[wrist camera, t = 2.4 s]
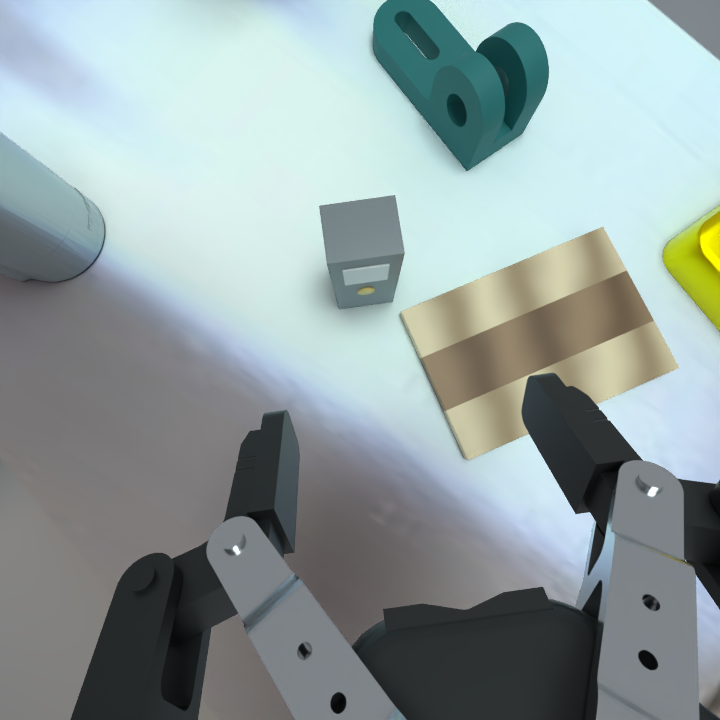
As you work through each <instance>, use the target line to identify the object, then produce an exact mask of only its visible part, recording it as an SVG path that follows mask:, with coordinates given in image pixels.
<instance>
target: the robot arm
mask: <svg viewBox="0 0 720 720" xmlns="http://www.w3.org/2000/svg"><path fill="white" fill-rule="evenodd" d="M103 240H104V223H103V218H102V216H101V214H100V212H99V210H98V208H97V207H96V206H95V205H94V203H93V202H92V201H90V200H89V199H88V198H86V197H85V196H84V195H82V194H81V193H80V192H79V191H78V190H77V189H76V188H73V187H72V186H71V185H69V184H68V183H67V182H66V181H64V180H63V179H62V178H60V177H59V176H58V175H57V174H55V173H54V172H53V171H51V170H50V169H49V168H47V167H46V166H45V165H43V164H42V163H41V162H39V161H38V160H37V159H36V158H34V157H33V156H32V155H30V154H29V153H28V152H26V151H25V150H24V149H22V148H21V147H20V146H18V145H17V144H16V143H14V142H13V141H12V140H10V139H9V138H8V137H7V136H5V135H4V134H3V133H1V132H0V274H2V275H5V276H8V277H10V278H13V279H16V280H18V281H21V282H23V281H25V280H28V279H37V280H41V281H45V282H57V281H63V280H67V279H69V278H72V277H74V276H76V275H78V274H80V273H81V272H83V271H84V270H85V269H86V268H87V267H89V266H90V265H91V264H92V263H93V261H94V260H95V258H96V257H97V256H98V254H99V252H100V249H101V247H102V244H103ZM521 413H522V419H523V423H524V425H525V427H526V429H527V431H528V433H529V434H530V436H531V438H532V439H533V441H534V443H535V445H536V446H537V448H538V450H539V452H540V453H541V455H542V457H543V458H544V460H545V462H546V464H547V465H548V467H549V469H550V470H551V472H552V474H553V476H554V477H555V479H556V481H557V483H558V484H559V486H560V488H561V489H562V491H563V493H564V495H565V496H566V498H567V500H568V502H569V503H570V505H571V507H572V508H573V510H574V512H575V514H579V513H586V512H590V513H591V514H592V516H593V518H594V519H595V521H594V523H593V527H592V533H591V538H590V544H589V550H588V555H587V561H586V567H585V572H584V578H583V583H582V586H581V590H580V592H579V595H578V599H577V602H576V606H575V607H573V606H571V605H568V604H566V603H563V602H560V601H556V600H553V599H548V597H547V595H546V593H545V591H544V588H543V587H538V588H531V589H524V590H517V591H510V592H503V593H501V594H499V595H497V596H495V597H493V598H491V599H489V600H487V601H485V602H483V603H481V604H479V605H476V606H474V607H472V608H470V609H467V610H460V609H454V608H447V607H441V606H434V605H427V604H417V605H410V606H403V607H396V608H388V609H383V611H384V620H383V621H381V622H379V623H377V624H376V625H374V626H373V627H371V628H370V629H368V630H367V631H366V632H365V633H364V634H363V635H361V636H360V637H359V639H358V640H357V641H356V642H355V643H354V644H353V646H352V647H351V646H350V645H349V644H348V642H347V641H346V640H345V638H344V637H343V636H342V634H341V633H340V632H339V630H338V629H337V627H336V626H335V625H334V623H333V622H332V621H331V619H330V618H329V617H328V615H327V614H326V613H325V611H324V610H323V609H322V607H321V606H320V605H319V603H318V602H317V601H316V599H315V598H314V597H313V595H312V594H311V592H310V591H309V590H308V588H307V587H306V586H305V584H304V583H303V582H302V581H301V580H300V578H299V577H296V576H295V574H294V573H293V572H292V571H291V569H290V568H289V567H288V565H287V564H286V562H285V561H284V560H283V557H284V554H287V553H294V547H295V530H296V512H297V495H298V477H299V459H300V454H299V445H298V440H297V437H296V434H295V431H294V428H293V425H292V422H291V419H290V416H289V413H288V411H287V410H283V411H276V412H269V413H264V415H263V418H262V424H261V430H255V431H250V432H249V433H248V435H247V436H246V438H245V439H244V441H243V442H242V444H241V447H240V451H239V456H238V461H237V465H236V473H235V474H234V479H233V484H232V488H231V493H230V497H229V502H228V507H227V511H226V516H225V519H224V521H223V523H222V524H221V525H220V526H218V527H217V528H216V530H215V531H214V532H213V533H212V535H211V537H210V539H209V540H208V541H207V542H205V543H204V544H203V545H201V546H199V547H197V548H195V549H192V550H190V551H188V552H186V553H184V554H182V555H179V556H177V557H175V558H173V559H171V558H170V557H169V556H168V555H166V554H163V553H153V554H149V555H147V556H144V557H142V558H141V559H139V560H137V561H136V562H135V563H133V564H132V565H131V566H130V567H129V568H128V569H127V570H126V572H125V573H124V574H123V576H122V577H121V579H120V581H119V582H118V585H117V587H116V590H115V593H114V596H113V599H112V602H111V605H110V608H109V610H108V613H107V616H106V619H105V622H104V625H103V628H102V630H101V633H100V636H99V639H98V642H97V645H96V648H95V651H94V654H93V657H92V660H91V663H90V665H89V668H88V671H87V674H86V677H85V680H84V682H83V686H82V688H81V691H80V694H79V697H78V700H77V703H76V706H75V708H74V711H73V714H72V717H71V720H198V714H199V707H200V701H201V694H202V687H203V681H204V674H205V667H206V660H207V654H208V647H209V640H210V634H211V627H213V626H215V625H217V624H219V623H221V622H223V621H225V620H226V619H228V618H230V617H232V616H234V615H236V614H239V615H240V617H241V619H242V621H243V623H244V628H245V630H246V632H247V634H248V636H249V638H250V640H251V642H252V643H253V645H254V647H255V649H256V650H257V652H258V654H259V656H260V658H261V659H262V661H263V663H264V665H265V667H266V668H267V670H268V672H269V674H270V676H271V677H272V679H273V681H274V683H275V685H276V686H277V688H278V690H279V692H280V694H281V695H282V697H283V699H284V701H285V703H286V704H287V706H288V708H289V710H290V712H291V713H292V715H293V717H294V719H295V720H720V719H719V718H718V717H717V716H716V715H714V714H713V713H712V712H711V711H709V710H708V709H707V708H706V707H704V706H703V705H702V704H701V703H699V687H698V648H697V608H696V575H697V577H698V578H699V580H700V581H701V583H702V584H703V586H704V587H705V589H706V590H707V591H708V593H709V594H710V596H711V597H712V599H713V600H714V602H715V603H716V605H717V606H718V608H719V609H720V480H719V482H718V483H717V484H712V483H704V482H697V481H689V480H682V479H677V478H676V477H675V476H674V475H673V474H672V473H670V472H669V471H668V470H666V469H665V468H663V467H661V466H659V465H657V464H654V463H651V462H647V461H643V460H642V459H641V458H640V457H639V455H638V454H637V453H636V452H635V451H634V449H633V448H632V447H631V446H630V445H629V443H628V442H627V441H626V440H625V439H624V437H623V436H622V435H621V434H620V433H619V431H618V430H617V429H616V428H615V427H614V425H613V424H612V423H611V422H610V421H608V420H607V417H606V416H605V415H604V413H603V412H602V411H601V410H599V407H598V406H597V405H596V404H595V403H594V401H593V400H592V399H591V398H590V397H589V396H588V395H587V394H585V393H584V392H582V391H581V390H579V389H578V388H576V387H574V386H568V387H566V385H565V384H564V383H563V382H562V380H561V379H560V378H559V377H558V375H557V374H555V373H546V374H539V375H532V376H529V377H528V379H527V383H526V388H525V393H524V398H523V403H522V409H521ZM685 560H686V561H687V562H686V561H685ZM695 574H696V575H695Z"/></svg>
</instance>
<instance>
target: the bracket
mask: <svg viewBox="0 0 720 720" xmlns="http://www.w3.org/2000/svg"><path fill="white" fill-rule="evenodd" d="M404 32H405V33H406V34H408V36H409V37H410V38H411V39H412V40H413V42H414V43H415V44H416V45H417V46H418V48H419V49H420V50H421V51H422V53H423V54H424V55H425V56H426V57H427V59H426V58H425V57H424V56H423V55H422V54H421V53H420V51H419V50H418V49H417V48H416V46H415V45H414V44H413V43H412V42H411V40H410V39H409V38H408V37H407V36H406V34H405V33H404ZM373 50H374V54H375V56H376V58H377V60H378V61H379V63H380V64H381V65H382V66H383V68H384V69H385V70H386V71H387V73H388V74H389V75H390V76H391V78H392V79H393V80H394V81H395V83H396V84H397V85H398V86H399V88H400V89H401V90H402V91H403V93H404V94H405V95H406V96H407V97H408V99H409V100H410V101H411V102H412V104H413V105H414V106H415V107H416V109H417V110H418V111H419V112H420V114H421V115H422V116H423V117H424V119H425V120H426V121H427V122H428V124H429V125H430V126H431V127H432V128H433V130H434V131H435V132H436V133H437V135H438V136H439V137H440V138H441V140H442V141H443V142H444V143H445V145H446V146H447V147H448V148H449V150H450V151H451V152H452V153H453V155H454V156H455V157H456V158H457V159H458V161H459V162H460V163H461V164H462V166H463V167H464V168H465V169H466V171H468V170H469V169H471V168H472V167H474V166H475V165H477V164H478V163H480V162H481V161H483V160H484V159H486V158H487V157H489V156H490V155H492V154H493V153H495V152H496V151H498V150H499V149H501V148H502V147H503V146H505V145H506V144H508V143H509V142H511V141H512V140H514V139H515V138H517V137H518V136H520V135H521V134H522V133H523V132H524V130H525V128H526V126H527V125H528V123H529V121H530V119H531V117H532V116H533V114H534V112H535V110H536V109H537V107H538V105H539V103H540V102H541V100H542V98H543V96H544V94H545V91H546V88H547V84H548V78H549V65H548V58H547V54H546V50H545V48H544V45H543V43H542V41H541V39H540V37H539V36H538V35H537V33H536V32H535V31H534V30H533V29H532V28H531V27H529V26H528V25H526V24H523V23H519V22H515V23H511V24H508V25H507V26H505V27H504V28H502V29H501V30H499V31H498V32H496V33H494V34H493V35H491V36H490V37H488V38H487V39H485V40H484V41H483V42H482V43H481V44H480V45H479V46H478V48H477V50H476V52H475V51H474V50H473V49H472V48H471V46H470V45H469V44H468V43H467V42H466V40H465V39H464V38H463V37H462V36H461V35H460V33H459V32H458V31H457V30H456V29H455V28H454V26H453V25H452V24H451V23H450V22H449V20H448V19H447V18H446V17H445V16H444V15H443V13H442V12H441V11H440V10H439V9H438V8H437V6H436V5H435V4H434V3H432V2H431V1H430V0H387V1H386V2H385V3H383V4H382V5H381V7H380V8H379V9H378V11H377V13H376V15H375V18H374V24H373Z"/></svg>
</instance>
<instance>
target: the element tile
mask: <svg viewBox="0 0 720 720" xmlns="http://www.w3.org/2000/svg"><path fill="white" fill-rule="evenodd" d="M663 261H664V264H665V266H666V268H667V270H668V271H669V272H670V273H671V275H672V276H673V277H674V278H675V279H676V281H677V282H678V283H679V284H680V285H681V286H682V288H683V289H684V290H685V291H686V292H687V293H688V295H689V296H690V297H691V298H692V299H693V301H694V302H695V303H696V304H697V305H698V306H699V308H700V309H701V310H702V311H703V312H704V313H705V315H706V316H707V317H708V318H709V319H710V321H711V322H712V323H713V324H714V325H715V326H716V328H717V329H718V330H719V331H720V205H719V206H718V207H716V208H715V209H713V210H712V211H711V212H709V213H708V214H706V215H705V216H704V217H702V218H701V219H699V220H698V221H697V222H695V223H694V224H692V225H691V226H690V227H688V228H687V229H685V230H684V231H683V232H681V233H680V234H678V235H677V236H676V237H674V238H673V239H671V240H670V241H669V242H668V243H667V245H666V246H665V248H664V250H663Z"/></svg>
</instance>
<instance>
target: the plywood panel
mask: <svg viewBox="0 0 720 720" xmlns="http://www.w3.org/2000/svg"><path fill="white" fill-rule="evenodd" d="M400 316H401V318H402V321H403V323H404V325H405V327H406V329H407V332H408V334H409V336H410V338H411V341H412V343H413V345H414V347H415V349H416V352H417V354H418V356H419V358H420V361H421V363H422V365H423V367H424V369H425V372H426V374H427V376H428V378H429V380H430V383H431V385H432V387H433V389H434V392H435V394H436V396H437V398H438V400H439V403H440V405H441V407H442V409H443V412H444V414H445V416H446V418H447V420H448V423H449V425H450V427H451V429H452V432H453V434H454V436H455V438H456V440H457V443H458V445H459V447H460V449H461V452H462V454H463V456H464V458H465V459H467V460H470V459H472V458H475V457H477V456H479V455H481V454H484V453H486V452H488V451H491V450H493V449H495V448H497V447H500V446H502V445H504V444H507V443H509V442H511V441H513V440H516V439H518V438H520V437H522V436H525V435H527V434H529V433H528V431H527V429H526V427H525V425H524V423H523V419H522V413H521V409H522V403H523V398H524V393H525V388H526V383H527V379H528V377H529V376H532V375H539V374H546V373H555V374H557V375H558V377H559V378H560V379H561V380H562V382H563V383H564V384H565V385H566V387H568V386H574V387H576V388H578V389H579V390H581V391H582V392H584V393H585V394H587V395H588V396H589V397H590V398H591V399H592V400H593V401H594V403H595V404H598V403H600V402H602V401H605V400H607V399H609V398H611V397H614V396H616V395H618V394H621V393H623V392H625V391H627V390H630V389H632V388H634V387H637V386H639V385H641V384H643V383H646V382H648V381H650V380H653V379H655V378H657V377H659V376H662V375H664V374H666V373H669V372H671V371H673V370H675V369H678V368H679V366H678V364H677V362H676V361H675V359H674V357H673V355H672V353H671V351H670V350H669V348H668V346H667V344H666V342H665V340H664V338H663V337H662V335H661V333H660V331H659V329H658V327H657V326H656V324H655V322H654V320H653V318H652V316H651V314H650V313H649V311H648V309H647V307H646V305H645V303H644V302H643V300H642V298H641V296H640V294H639V292H638V291H637V289H636V287H635V285H634V283H633V281H632V279H631V278H630V276H629V274H628V272H627V270H626V268H625V267H624V265H623V263H622V261H621V259H620V257H619V255H618V254H617V252H616V250H615V248H614V246H613V244H612V243H611V241H610V239H609V237H608V235H607V233H606V232H605V230H604V228H603V227H601V228H599V229H596V230H594V231H592V232H589V233H587V234H585V235H582V236H580V237H577V238H575V239H573V240H570V241H568V242H566V243H563V244H561V245H558V246H556V247H554V248H551V249H549V250H546V251H544V252H542V253H539V254H537V255H535V256H532V257H530V258H527V259H525V260H523V261H520V262H518V263H516V264H513V265H511V266H508V267H506V268H504V269H501V270H499V271H496V272H494V273H492V274H489V275H487V276H485V277H482V278H480V279H477V280H475V281H473V282H470V283H468V284H466V285H463V286H461V287H458V288H456V289H454V290H451V291H449V292H446V293H444V294H442V295H439V296H437V297H435V298H432V299H430V300H427V301H425V302H423V303H420V304H418V305H416V306H413V307H411V308H408V309H406V310H404V311H401V313H400Z"/></svg>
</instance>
